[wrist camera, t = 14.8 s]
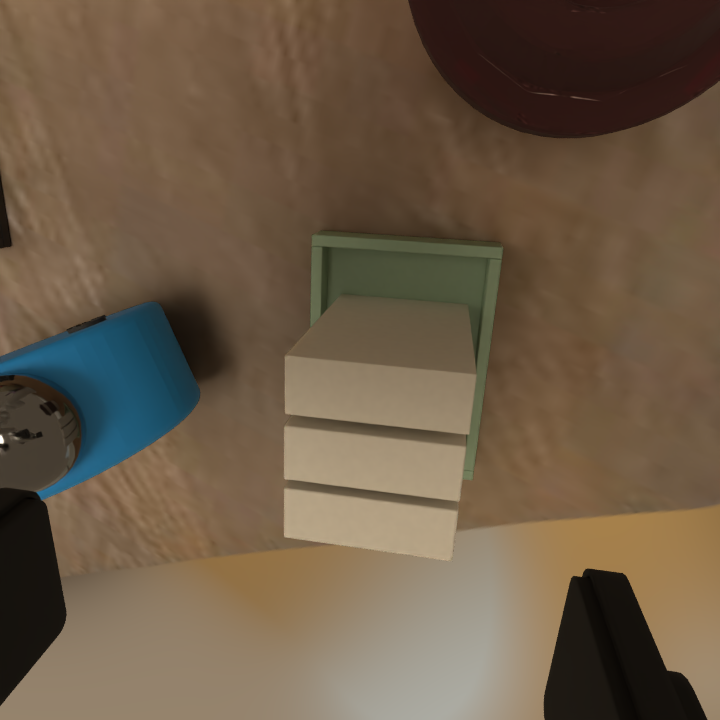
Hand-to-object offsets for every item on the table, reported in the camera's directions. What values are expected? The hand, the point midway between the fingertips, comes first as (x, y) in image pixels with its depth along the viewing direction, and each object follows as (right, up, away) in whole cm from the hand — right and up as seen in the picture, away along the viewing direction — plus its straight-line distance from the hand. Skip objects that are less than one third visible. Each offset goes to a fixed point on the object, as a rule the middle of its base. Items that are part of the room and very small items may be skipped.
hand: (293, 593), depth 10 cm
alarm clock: (-13, +4, +25) cm, 29 cm away
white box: (+4, +6, +21) cm, 22 cm away
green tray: (+3, +5, +22) cm, 23 cm away
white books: (+3, +2, +22) cm, 23 cm away
